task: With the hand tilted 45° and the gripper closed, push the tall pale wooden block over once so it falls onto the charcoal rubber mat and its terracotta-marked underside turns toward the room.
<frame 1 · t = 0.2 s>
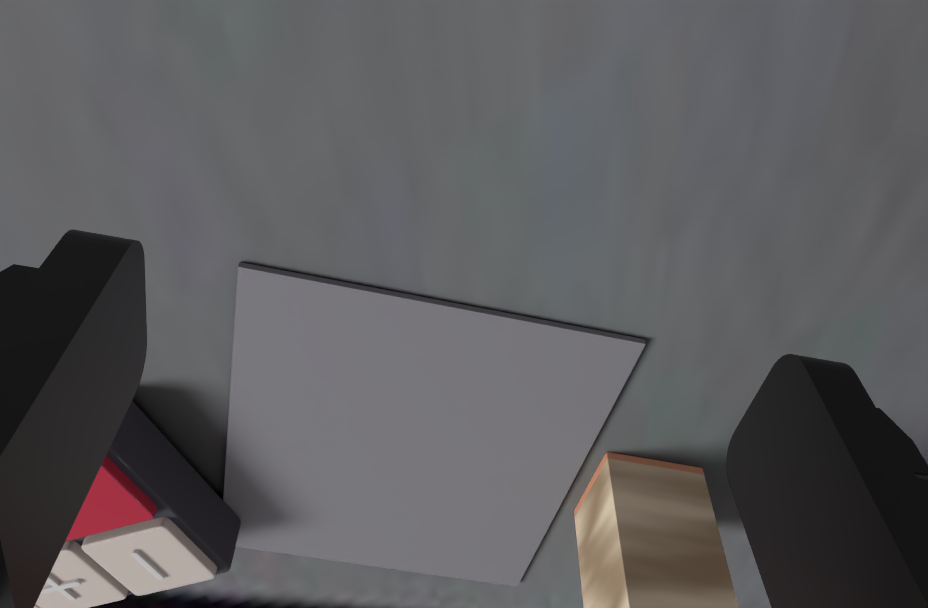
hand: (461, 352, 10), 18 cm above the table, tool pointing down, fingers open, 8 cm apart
tall block: (636, 489, 41), on the table
dark boxy piece: (67, 484, 41), on the table, touching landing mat
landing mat: (405, 452, 39), on the table
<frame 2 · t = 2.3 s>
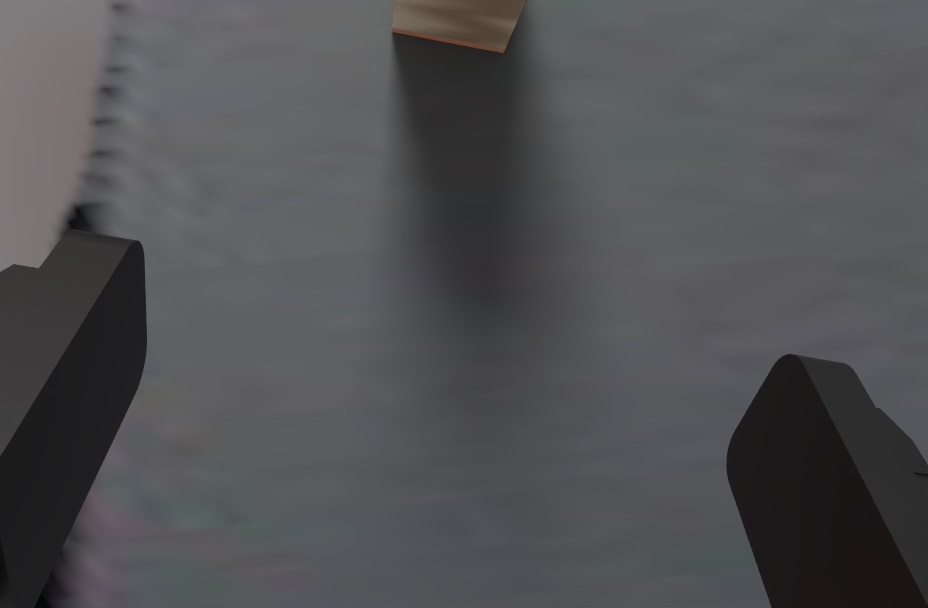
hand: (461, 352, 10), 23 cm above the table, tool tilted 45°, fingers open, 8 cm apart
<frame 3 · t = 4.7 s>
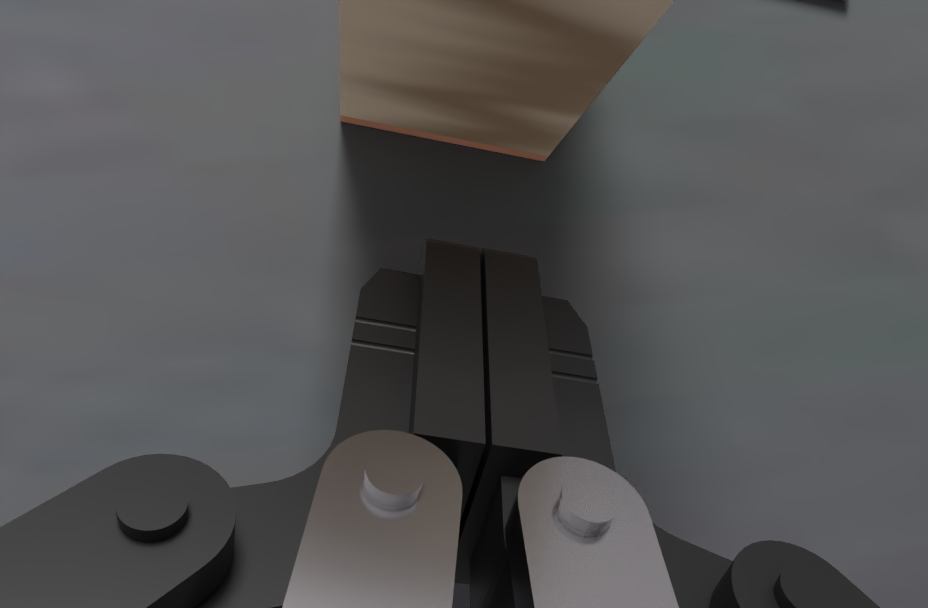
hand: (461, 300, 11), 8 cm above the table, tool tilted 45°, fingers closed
tall block: (459, 45, 20), on the table
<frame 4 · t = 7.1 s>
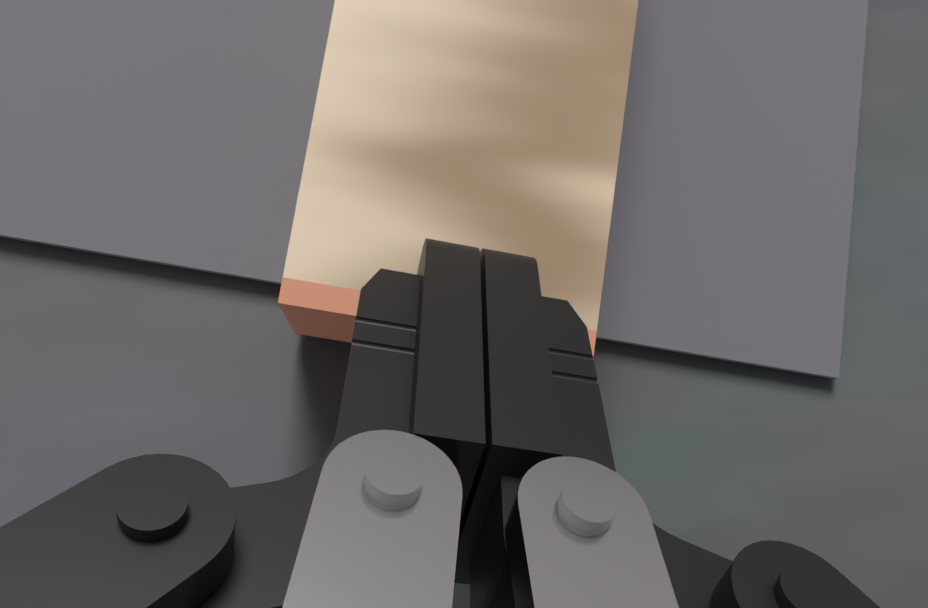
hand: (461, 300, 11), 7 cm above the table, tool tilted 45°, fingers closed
tall block: (423, 343, 15), point 3 cm above the table, tilted 90°, touching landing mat
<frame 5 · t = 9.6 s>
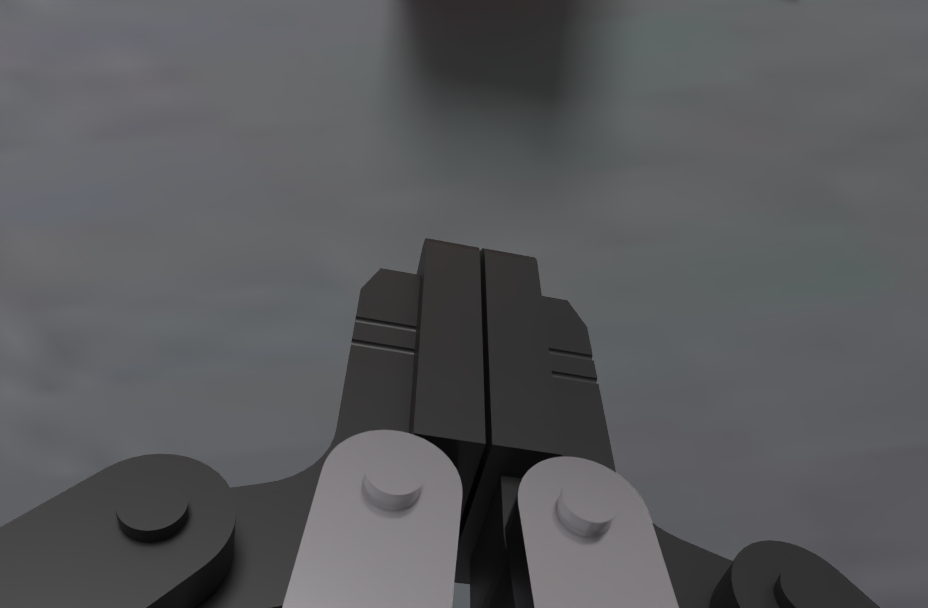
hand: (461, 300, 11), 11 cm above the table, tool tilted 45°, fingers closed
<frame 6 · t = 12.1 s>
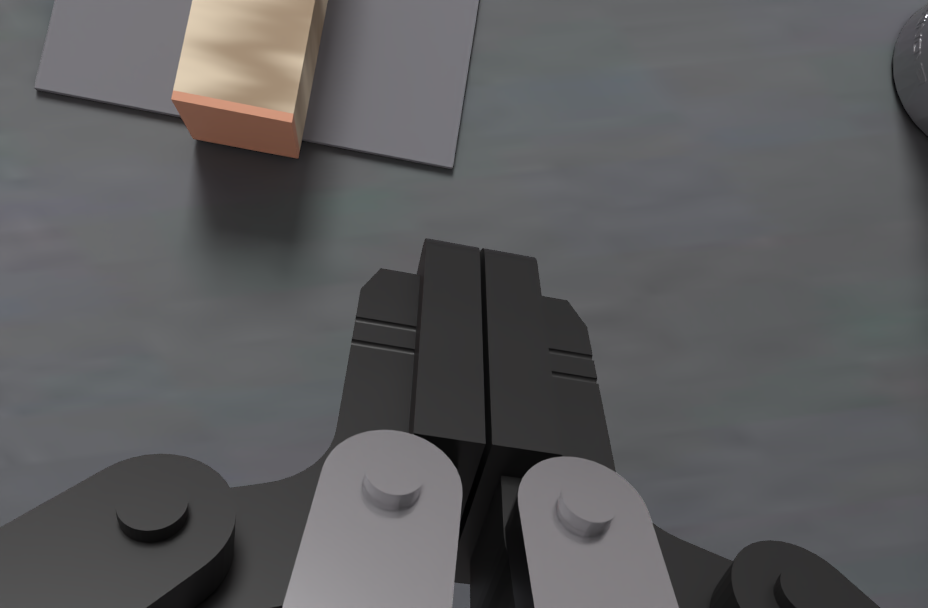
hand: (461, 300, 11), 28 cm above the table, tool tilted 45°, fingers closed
tall block: (239, 131, 36), point 3 cm above the table, tilted 90°, touching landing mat
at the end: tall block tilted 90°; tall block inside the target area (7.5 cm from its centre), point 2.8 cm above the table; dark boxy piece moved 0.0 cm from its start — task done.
